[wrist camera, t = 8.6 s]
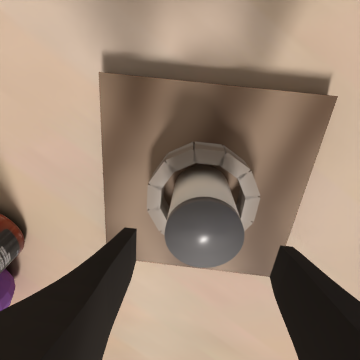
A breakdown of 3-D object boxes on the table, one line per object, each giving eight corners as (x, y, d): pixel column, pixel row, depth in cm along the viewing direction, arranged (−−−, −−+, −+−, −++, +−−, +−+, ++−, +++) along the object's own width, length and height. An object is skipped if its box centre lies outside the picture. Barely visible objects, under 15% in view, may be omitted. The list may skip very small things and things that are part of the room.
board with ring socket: (327, 95, 16) (358, 97, 13) (270, 267, 22) (282, 295, 19) (105, 73, 16) (85, 69, 13) (111, 248, 22) (98, 273, 19)
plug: (233, 167, 17) (251, 206, 11) (224, 217, 18) (236, 271, 13) (175, 162, 17) (166, 197, 11) (172, 212, 19) (162, 263, 13)
